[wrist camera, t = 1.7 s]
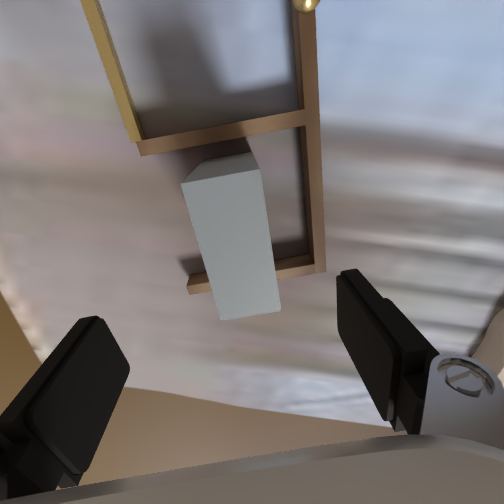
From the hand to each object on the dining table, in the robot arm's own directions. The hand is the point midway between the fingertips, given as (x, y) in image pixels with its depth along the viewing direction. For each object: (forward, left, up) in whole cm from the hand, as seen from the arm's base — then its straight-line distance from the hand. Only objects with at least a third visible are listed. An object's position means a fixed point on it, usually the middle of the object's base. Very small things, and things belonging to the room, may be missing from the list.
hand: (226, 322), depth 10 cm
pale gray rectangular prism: (-1, 0, -14) cm, 14 cm away
